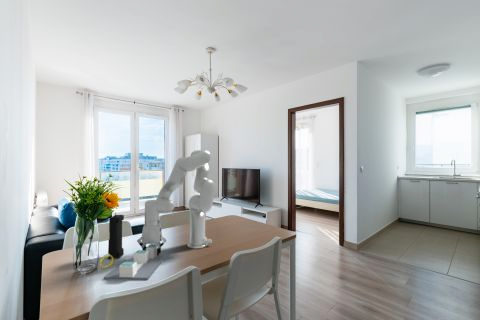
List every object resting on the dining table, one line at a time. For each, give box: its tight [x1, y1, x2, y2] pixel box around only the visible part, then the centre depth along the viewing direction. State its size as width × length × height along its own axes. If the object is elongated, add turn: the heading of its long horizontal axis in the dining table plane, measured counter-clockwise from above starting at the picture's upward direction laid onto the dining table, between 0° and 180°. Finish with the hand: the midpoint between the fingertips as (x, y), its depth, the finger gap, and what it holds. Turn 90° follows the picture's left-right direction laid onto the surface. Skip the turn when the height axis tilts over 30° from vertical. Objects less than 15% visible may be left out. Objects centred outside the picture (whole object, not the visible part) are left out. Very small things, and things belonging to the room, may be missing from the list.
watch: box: [99, 253, 115, 269], centre depth 115 cm, size 6×3×6 cm, turn 143°
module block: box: [146, 244, 158, 260], centre depth 127 cm, size 4×6×6 cm, turn 179°
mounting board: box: [103, 249, 163, 281], centre depth 112 cm, size 20×18×6 cm
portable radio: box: [107, 212, 125, 260], centre depth 127 cm, size 8×6×25 cm
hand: (151, 254), depth 127 cm, fingers open, 7 cm apart
